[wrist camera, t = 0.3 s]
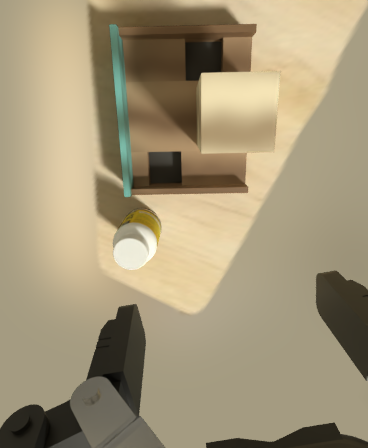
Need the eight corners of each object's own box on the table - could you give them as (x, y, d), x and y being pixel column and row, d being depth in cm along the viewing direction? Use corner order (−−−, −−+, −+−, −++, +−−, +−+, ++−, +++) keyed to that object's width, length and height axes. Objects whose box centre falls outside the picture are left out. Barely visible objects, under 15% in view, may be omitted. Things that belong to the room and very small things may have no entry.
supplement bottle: (134, 200, 41) (119, 223, 32) (168, 218, 42) (163, 246, 33) (117, 232, 43) (98, 262, 34) (150, 249, 44) (141, 283, 34)
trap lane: (119, 37, 35) (109, 24, 30) (248, 34, 35) (258, 20, 30) (131, 188, 41) (124, 196, 36) (242, 186, 41) (249, 194, 36)
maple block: (196, 87, 35) (201, 72, 24) (251, 86, 35) (280, 70, 24) (196, 144, 37) (201, 153, 26) (249, 143, 37) (274, 152, 26)
